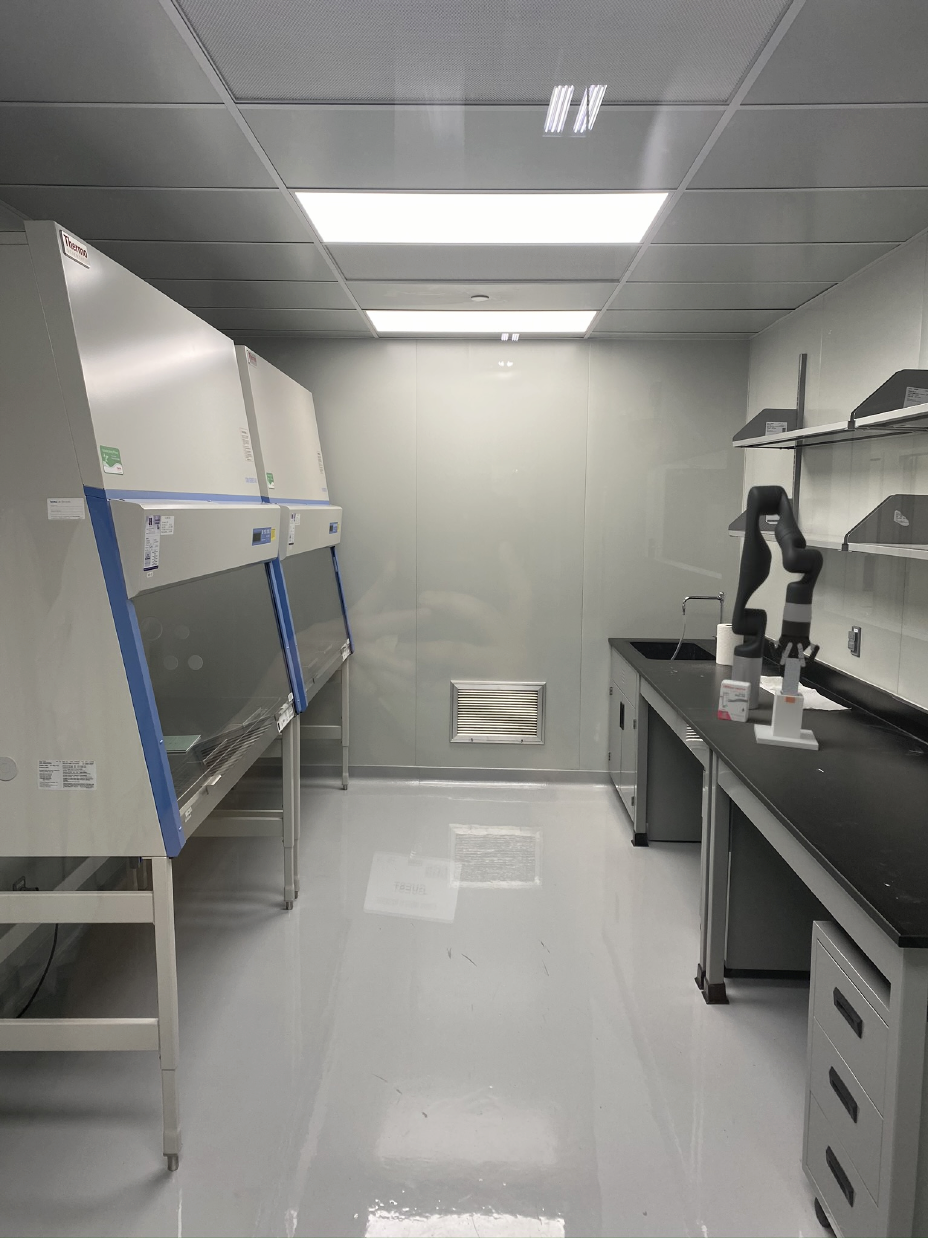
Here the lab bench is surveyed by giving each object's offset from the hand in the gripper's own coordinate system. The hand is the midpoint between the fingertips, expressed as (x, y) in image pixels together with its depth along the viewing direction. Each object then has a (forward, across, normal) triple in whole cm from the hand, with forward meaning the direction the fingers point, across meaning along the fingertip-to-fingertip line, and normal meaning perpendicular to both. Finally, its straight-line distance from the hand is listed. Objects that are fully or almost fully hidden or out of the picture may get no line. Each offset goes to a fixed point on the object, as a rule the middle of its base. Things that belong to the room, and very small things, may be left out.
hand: (790, 677), depth 233 cm
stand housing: (+18, 0, 0) cm, 18 cm away
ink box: (+18, +14, -18) cm, 29 cm away
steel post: (+17, 0, 0) cm, 17 cm away
